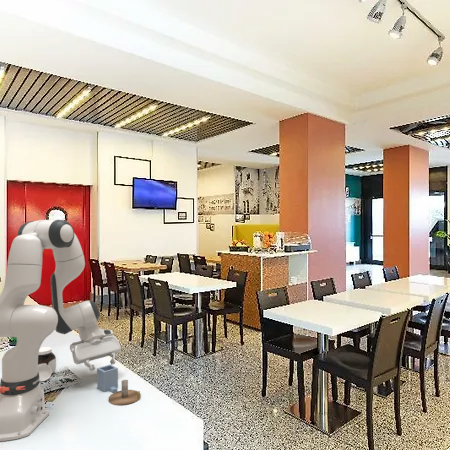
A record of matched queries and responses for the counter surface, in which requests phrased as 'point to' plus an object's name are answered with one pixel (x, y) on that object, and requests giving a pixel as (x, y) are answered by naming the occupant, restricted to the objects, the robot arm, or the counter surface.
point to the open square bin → (107, 378)
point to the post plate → (123, 400)
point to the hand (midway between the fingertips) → (103, 366)
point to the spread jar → (46, 363)
